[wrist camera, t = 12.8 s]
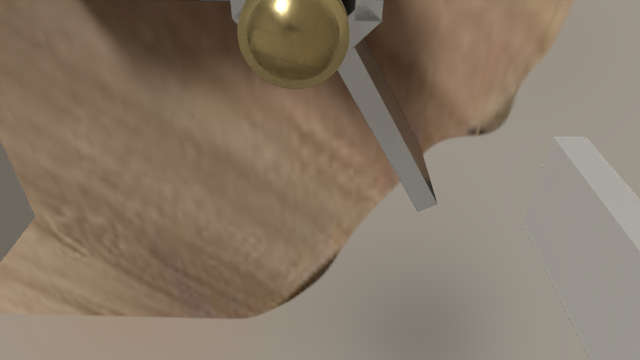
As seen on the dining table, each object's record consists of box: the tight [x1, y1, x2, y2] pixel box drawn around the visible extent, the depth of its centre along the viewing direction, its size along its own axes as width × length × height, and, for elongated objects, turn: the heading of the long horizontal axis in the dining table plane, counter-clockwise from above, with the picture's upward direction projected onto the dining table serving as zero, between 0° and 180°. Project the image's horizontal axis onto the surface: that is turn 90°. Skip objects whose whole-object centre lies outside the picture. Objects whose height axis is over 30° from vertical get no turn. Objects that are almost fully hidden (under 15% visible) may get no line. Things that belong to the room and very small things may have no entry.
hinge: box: [202, 0, 437, 211], centre depth 33 cm, size 28×21×8 cm
